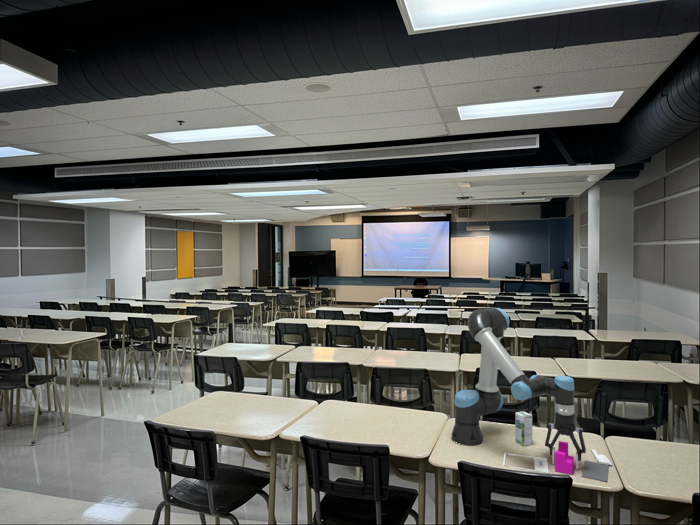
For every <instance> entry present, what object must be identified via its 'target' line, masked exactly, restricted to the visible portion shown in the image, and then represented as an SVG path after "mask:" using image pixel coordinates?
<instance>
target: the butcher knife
mask: <svg viewBox="0 0 700 525" xmlns="http://www.w3.org/2000/svg"><path fill="white" fill-rule="evenodd" d="M590 451H591V453H592V455H594V459H596V462H597V463H599V464H606V465H609V466H613V464H612V462H611V461H610V460H609V458H608V456H606V455H604V454H602V453H600V454H598V453H597V451H596V449H593V448H592V449H590Z"/></svg>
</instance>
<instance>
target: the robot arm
mask: <svg viewBox="0 0 700 525" xmlns="http://www.w3.org/2000/svg"><path fill="white" fill-rule="evenodd" d="M509 327H510V318H509V315H508V314H507V313H506V311H505V310H503V309H502V308H499V307H492V308H483V309H482V308H481V309H480V308H479V309H476V310H473V311H472V312H471V313H470V314H469V315H468V318H467V329H468V331H469V333H470V335H471V337H472V338H473V339H474V340H475V342H478V343H479V344H480V345H481V350H480V362H479V376H478V383H476V384H475V390H474V389H463V390H459V391H457V392H456V393H455V395H454V401H453V402H454V424H453V428H452V431H451V440H452V441H453V442H454V441H455V442H454V443H456V442H457V443H456V444H458V443H460V444H459V445H462V444H464V445H463V446H478V445H481V444H483V443H484V435H483V432H482V430H481V426H480V417H482V416H486V415H489V414H494V413H496V412H498V411H500V410H501V408H502V407H503V404H504V398H503V395H502V392H501V391H500V388H499V387H498V385H497V381H498V380H497V379H498V369H499V371H500V372H501V373H502V375H503V376H504V377H505V379H506V380H507V381H508V383H509V384H510V385H511V386H510V392H511V395H512V396H513V398H515V399H516V400H517V401H518V400H519V401H523V400H524V401H525V400H529V399H531V398H532V399H533V398H535V397H541V396H545V395H546V396H550V397H553V398H554V409H555V410H554V411H555V412H554V415H555V417H554V418H555V419H554V421H555V422H554V423H551V422H548V424H547V433H546V439H545V442H544V446H545V447H547V448H549V456H550V457H551V458H552V459H551V460H552V461H551V462H552V465H554V466H555V452H556V447H554V446H555V445H556V442H557V440H558V439H559V437H560V435H561V436H567V437H569V439H570V440H571V442H572V444H573V446H574V448H575V450H576V451H575V469H576V470H579V462H581V461H582V455H583V454H586V452H587V449H586V444H585V440H584V436H583V435H584V434H583V432H584V429H583V427H577V426H576V422H575V390H576V389H575V380H574V378H573V377H571V376H568V375H556V376H554V378H551V377H547V376H543V375H537V374H534V375H532V376H531V377H529V378H528V376H527V375H526V374H525V372H524V371H523V370H522V369H521V368H520V367H519V365H518V364H517V362H516V361H515V360H514V358H513V357H512V356H511V355H510V354H509V352H508V351H507V350H506V349H505V347H504V346H503V345H502V343H501V339H502V338H504V334H505V331H507V329H508V328H509ZM554 428H555V430H556V433H555V435H554V437H553V439H552V441H551V443H550V438H551V434H552V430H553V429H554ZM575 431H576V433H577V434H578V439H579V442H578V440H577V439H576V437H575V434H574V432H575ZM579 443H580V445H579ZM580 446H581V447H580Z"/></svg>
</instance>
